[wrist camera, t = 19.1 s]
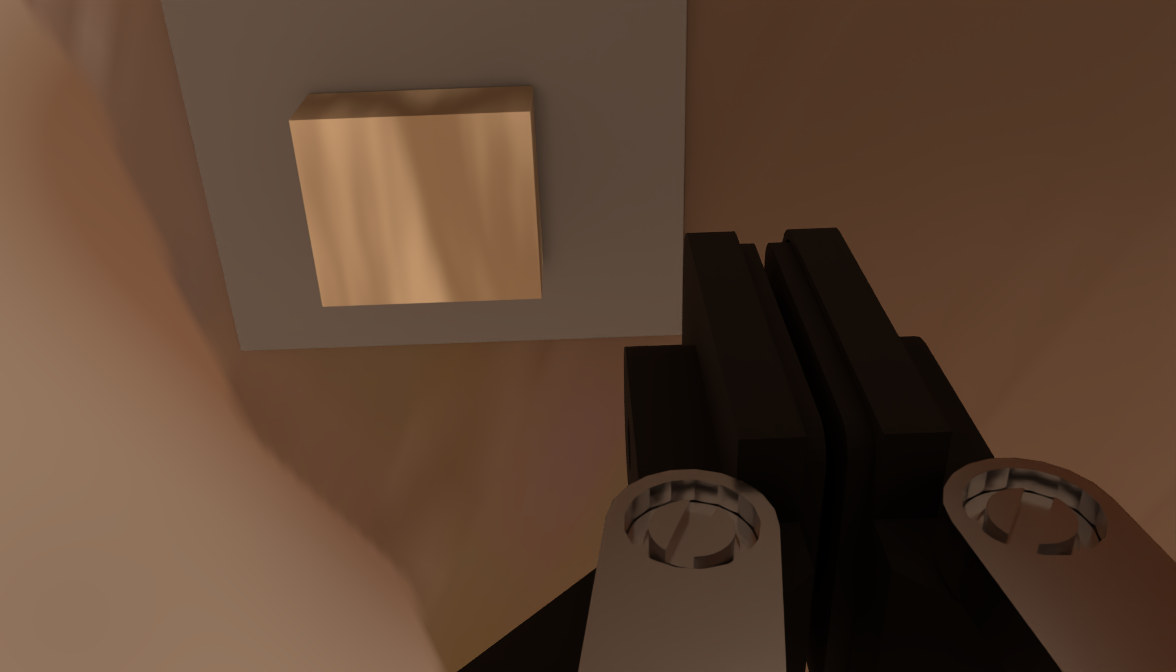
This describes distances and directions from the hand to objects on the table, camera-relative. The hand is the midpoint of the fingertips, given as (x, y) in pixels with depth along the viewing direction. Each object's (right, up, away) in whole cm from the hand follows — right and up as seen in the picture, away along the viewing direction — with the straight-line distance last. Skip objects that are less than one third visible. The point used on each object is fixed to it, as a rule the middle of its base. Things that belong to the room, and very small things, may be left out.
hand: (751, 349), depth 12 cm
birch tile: (-4, +5, +25) cm, 26 cm away
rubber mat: (-7, +6, +27) cm, 29 cm away
